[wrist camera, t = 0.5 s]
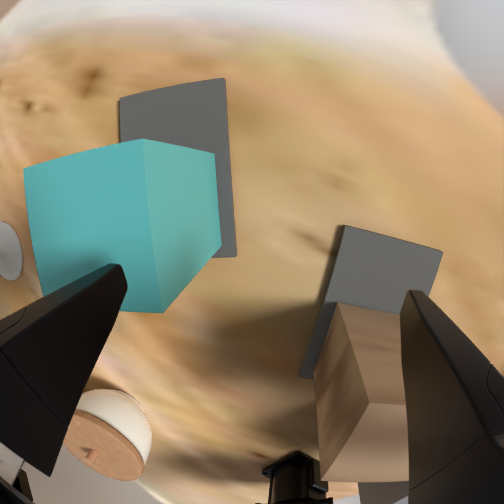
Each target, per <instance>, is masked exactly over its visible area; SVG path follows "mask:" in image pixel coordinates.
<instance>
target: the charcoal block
mask: <svg viewBox="0 0 504 504" xmlns="http://www.w3.org/2000/svg"><path fill="white" fill-rule="evenodd" d="M358 488H359V495H360V502H361V504H408V492H409V481H395V482H358Z"/></svg>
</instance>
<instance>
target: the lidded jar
mask: <svg viewBox="0 0 504 504" xmlns="http://www.w3.org/2000/svg"><path fill="white" fill-rule="evenodd" d="M63 444H64V446H65V447H66V448H67V449H68V450H69V451H70V452H71V453H72V454H73V455H74V456H75V457H76V458H77V459H79V460H80V461H81V462H83V463H84V464H85V465H87V466H88V467H89V468H91V469H93V470H95V471H96V472H98V473H100V474H102V475H105V476H107V477H110V478H113V479H117V480H122V481H131V480H135V479H137V478H139V477H140V476H141V474H142V472H143V470H144V465H145V463H146V461H147V458H148V456H149V453H150V450H151V444H152V431H151V426H150V423H149V421H148V418H147V417H146V413H145V411H144V409H143V407H142V406H141V405H140V404H139V402H138V401H136V400H135V399H134V398H133V397H132V396H130V395H129V394H127V393H125V392H122V391H120V390H116V389H95V390H90V391H87V392H85V393H83V394H82V396H81V398H80V400H79V403H78V405H77V407H76V410H75V412H74V415H73V417H72V420H71V422H70V425H69V427H68V430H67V433H66V436H65V438H64V441H63Z"/></svg>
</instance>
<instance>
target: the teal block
mask: <svg viewBox="0 0 504 504" xmlns="http://www.w3.org/2000/svg"><path fill="white" fill-rule="evenodd" d="M23 170H24V185H25V196H26V205H27V213H28V221H29V228H30V234H31V240H32V246H33V252H34V257H35V262H36V267H37V271H38V276H39V280H40V284H41V288H42V292H43V296H46V295H48V294H50V293H52V292H54V291H56V290H58V289H59V288H61V287H63V286H65V285H67V284H69V283H71V282H73V281H75V280H77V279H79V278H81V277H83V276H85V275H87V274H89V273H91V272H93V271H95V270H97V269H99V268H101V267H103V266H105V265H107V264H109V263H115V264H120V265H121V266H122V268H123V271H124V274H125V277H126V280H127V283H128V289H127V293H126V295H125V298H124V300H123V303H122V305H121V308H120V310H119V311H127V312H148V313H164V311H165V310H166V309H167V308H168V307H169V306H170V304H171V303H172V302H173V301H174V300H175V299H176V297H177V296H178V295H179V294H180V293H181V292H182V290H183V289H184V288H185V287H186V286H187V285H188V284H189V282H190V281H191V280H192V279H193V278H194V277H195V275H196V274H197V273H198V272H199V271H200V270H201V269H202V267H203V266H204V265H205V264H206V263H207V262H208V261H209V259H210V258H211V257H212V256H213V255H214V254H215V253H216V251H217V250H218V249H219V248H220V247H221V246H222V244H221V232H220V220H219V208H218V195H217V181H216V167H215V154H214V153H210V152H205V151H201V150H197V149H192V148H187V147H183V146H178V145H173V144H168V143H163V142H158V141H153V140H148V139H138V140H132V141H127V142H123V143H118V144H113V145H109V146H104V147H100V148H95V149H91V150H87V151H83V152H79V153H75V154H71V155H68V156H64V157H60V158H57V159H53V160H50V161H47V162H43V163H40V164H37V165H33V166H30V167H27V168H24V169H23Z"/></svg>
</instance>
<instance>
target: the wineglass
mask: <svg viewBox="0 0 504 504" xmlns="http://www.w3.org/2000/svg"><path fill="white" fill-rule="evenodd" d="M22 268H23V252H22V248H21V244H20V241H19V238H18V236H17V234H16V232H15V230H14V229H13V228H12V226H10V225H9V224H8V223H6V222H0V275H1V276H2V277H3V278H5V279H6V280H10V281H12V280H15V279H17V278H18V277H19V276H20V274H21V271H22Z"/></svg>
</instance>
